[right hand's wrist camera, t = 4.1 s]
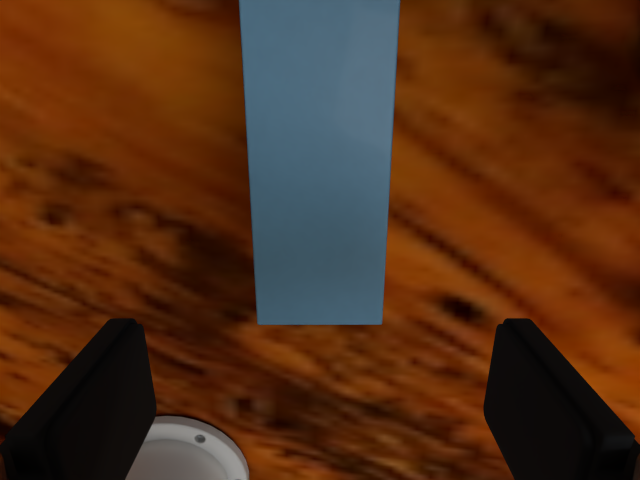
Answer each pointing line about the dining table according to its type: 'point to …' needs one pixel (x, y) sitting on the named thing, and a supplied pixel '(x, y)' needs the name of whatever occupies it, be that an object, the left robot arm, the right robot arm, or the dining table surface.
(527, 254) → the dining table surface
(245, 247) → the dining table surface
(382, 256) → the blue slab
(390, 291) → the dining table surface
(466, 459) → the dining table surface
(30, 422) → the right robot arm
